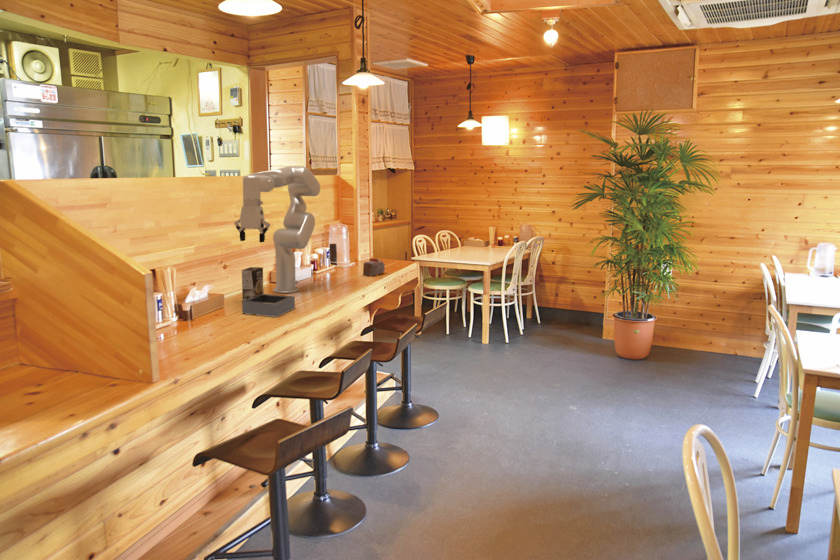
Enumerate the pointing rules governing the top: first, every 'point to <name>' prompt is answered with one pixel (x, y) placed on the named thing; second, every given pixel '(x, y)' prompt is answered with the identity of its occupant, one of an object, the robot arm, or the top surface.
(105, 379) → the top surface
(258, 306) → the socket
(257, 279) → the coffee box
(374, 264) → the food item
